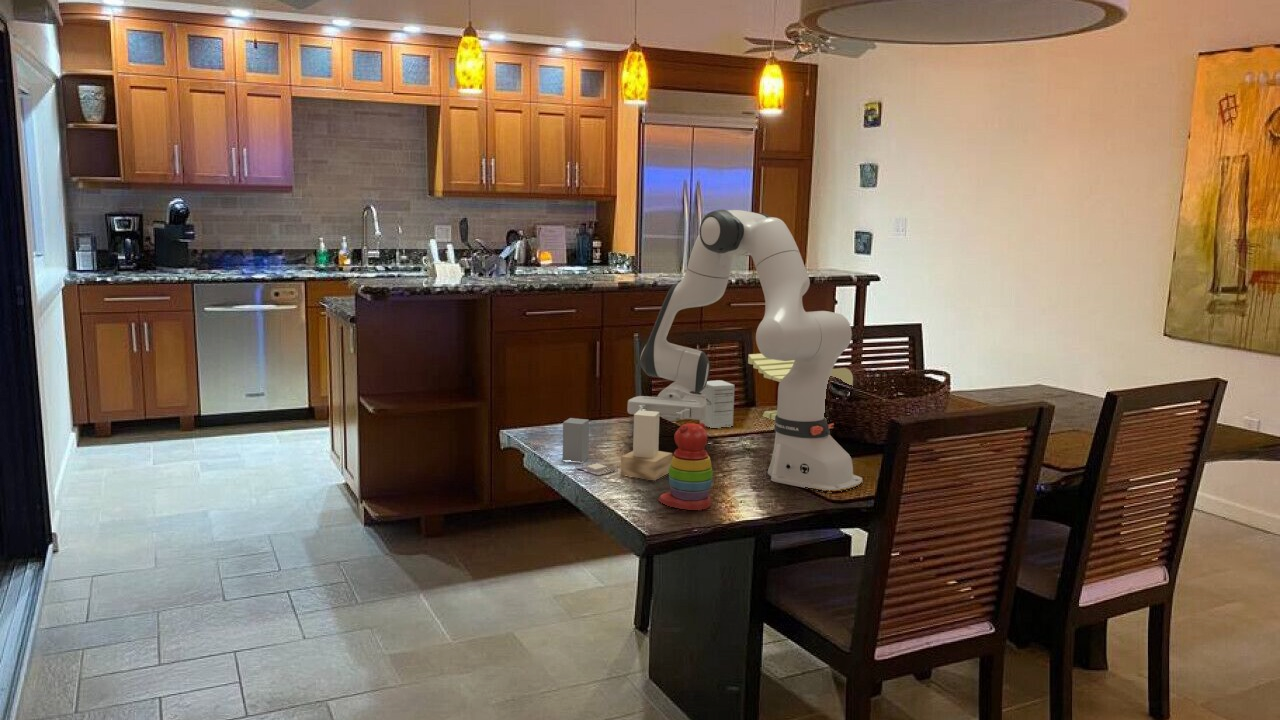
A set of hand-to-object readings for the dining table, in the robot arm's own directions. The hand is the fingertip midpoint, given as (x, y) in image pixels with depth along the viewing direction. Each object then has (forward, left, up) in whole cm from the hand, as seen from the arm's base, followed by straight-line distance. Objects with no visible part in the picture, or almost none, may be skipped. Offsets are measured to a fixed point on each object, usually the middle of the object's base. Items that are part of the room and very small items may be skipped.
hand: (660, 414), depth 236 cm
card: (+4, +17, -12) cm, 21 cm away
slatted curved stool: (+6, -65, -12) cm, 66 cm away
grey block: (+14, +15, -12) cm, 24 cm away
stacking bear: (-28, +19, -12) cm, 36 cm away
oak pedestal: (-6, +10, -12) cm, 17 cm away
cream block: (-6, +11, -7) cm, 14 cm away
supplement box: (+16, -40, -12) cm, 44 cm away
